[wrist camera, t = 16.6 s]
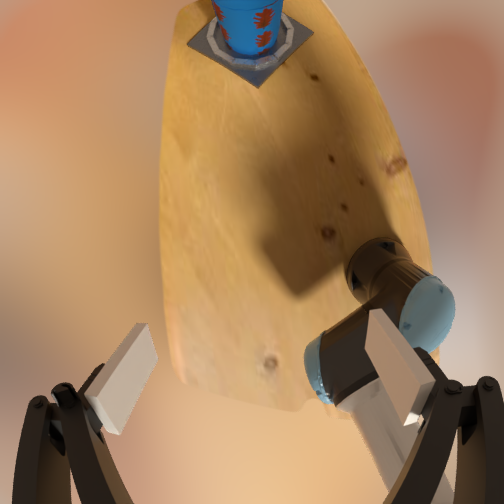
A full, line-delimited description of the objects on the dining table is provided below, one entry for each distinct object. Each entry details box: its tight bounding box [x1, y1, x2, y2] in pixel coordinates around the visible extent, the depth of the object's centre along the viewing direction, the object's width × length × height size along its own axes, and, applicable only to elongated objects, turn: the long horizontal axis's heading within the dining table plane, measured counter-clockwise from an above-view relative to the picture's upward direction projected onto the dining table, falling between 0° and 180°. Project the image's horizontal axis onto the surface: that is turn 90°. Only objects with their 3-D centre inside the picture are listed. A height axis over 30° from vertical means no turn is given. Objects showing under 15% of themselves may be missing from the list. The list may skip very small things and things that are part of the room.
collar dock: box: [187, 12, 314, 88], centre depth 40 cm, size 18×18×2 cm
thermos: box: [211, 0, 283, 55], centre depth 28 cm, size 11×11×25 cm
